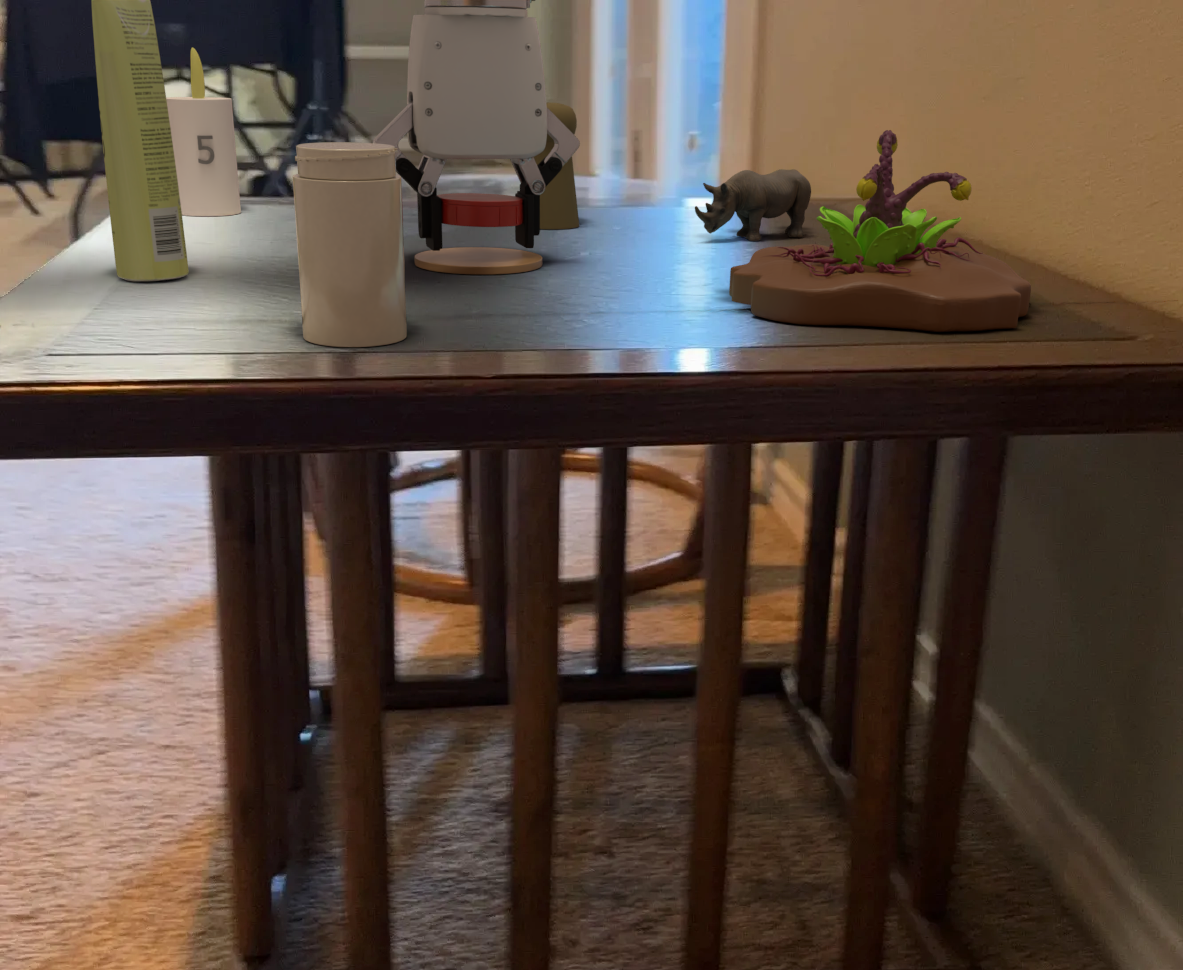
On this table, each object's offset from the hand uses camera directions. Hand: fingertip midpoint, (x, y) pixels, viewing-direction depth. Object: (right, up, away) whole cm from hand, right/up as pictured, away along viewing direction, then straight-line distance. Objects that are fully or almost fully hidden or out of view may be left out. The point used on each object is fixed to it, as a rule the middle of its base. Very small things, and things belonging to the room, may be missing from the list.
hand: (479, 244), depth 101 cm
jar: (-5, -12, -25) cm, 28 cm away
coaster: (0, -1, +1) cm, 1 cm away
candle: (-29, +10, +26) cm, 41 cm away
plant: (+28, -7, -11) cm, 31 cm away
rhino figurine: (+23, +5, +18) cm, 30 cm away
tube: (-23, -5, -8) cm, 25 cm away
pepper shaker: (+5, +8, +23) cm, 25 cm away
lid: (0, +3, -1) cm, 3 cm away
